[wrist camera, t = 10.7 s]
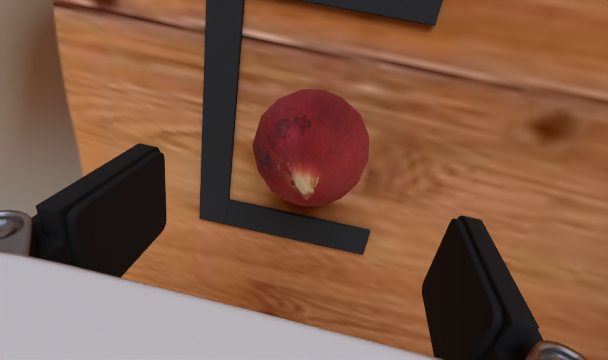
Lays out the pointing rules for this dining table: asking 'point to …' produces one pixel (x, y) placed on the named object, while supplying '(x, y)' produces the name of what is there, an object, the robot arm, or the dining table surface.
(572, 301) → the dining table surface
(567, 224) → the dining table surface
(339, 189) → the onion
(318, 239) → the bay
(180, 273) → the dining table surface
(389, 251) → the dining table surface
